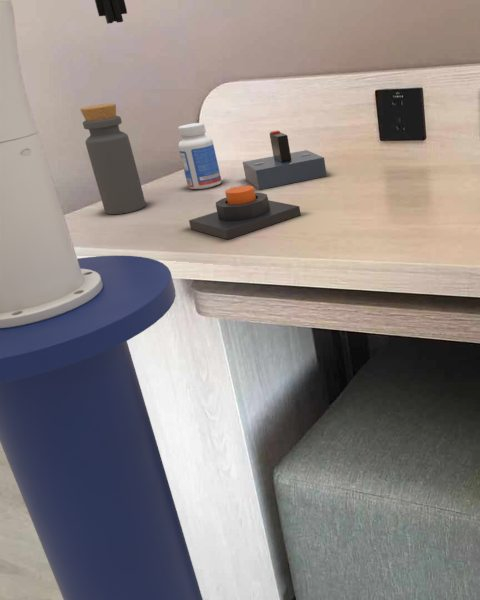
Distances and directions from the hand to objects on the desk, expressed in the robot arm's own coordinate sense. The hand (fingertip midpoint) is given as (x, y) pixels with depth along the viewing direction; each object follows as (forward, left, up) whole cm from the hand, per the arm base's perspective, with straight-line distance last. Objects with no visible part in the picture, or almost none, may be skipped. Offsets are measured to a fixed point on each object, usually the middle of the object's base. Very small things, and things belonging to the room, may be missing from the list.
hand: (114, 22), depth 77 cm
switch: (+8, -6, -23) cm, 25 cm away
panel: (+26, +10, -25) cm, 37 cm away
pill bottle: (+17, +20, -25) cm, 37 cm away
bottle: (+3, +19, -25) cm, 32 cm away
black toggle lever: (+26, +10, -22) cm, 36 cm away
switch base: (+8, -6, -25) cm, 27 cm away
